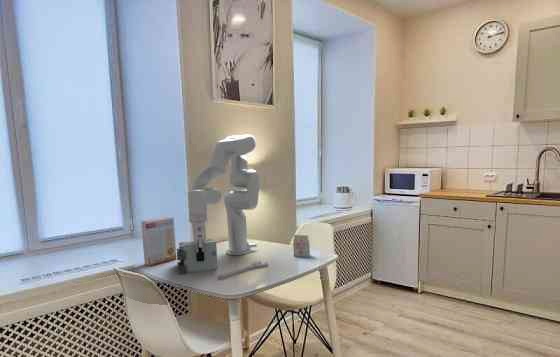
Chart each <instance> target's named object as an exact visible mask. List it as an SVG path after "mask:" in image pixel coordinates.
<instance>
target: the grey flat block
mask: <svg viewBox="0 0 560 357" xmlns="http://www.w3.org/2000/svg"><path fill="white" fill-rule="evenodd" d="M206 242H207V244H206V245H205V244H204V243H203V250H204V261H200V262H197V257H196V252H197V246H196V245H195V243H189V244H183V251H186V260H184V265H187V273H186V274H188V273H194V272H195V273H196V272H202V271H209V270H216V269H217V270H218V267H219V266H218V253H217V252H218V250H217V249H218V248H217V241H216V239H215V240H212V241H206ZM197 245H199V244H197ZM198 247H199V246H198Z"/></svg>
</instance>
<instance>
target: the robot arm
mask: <svg viewBox="0 0 560 357" xmlns="http://www.w3.org/2000/svg"><path fill="white" fill-rule="evenodd" d="M256 145H257V142H256V139H255V136H253V135H251V134H241V135H240V134H239V135H230V136H227V137H226V138H225V139H223V140H219V141H218V142H216V143H215V146H214V149H213V151H212V155H211V157H210V160H209V162H208V163H209V164H208V165H207V167H205V168H204V169H203V170H202V171H201V172H200V173H199V174H198V175H197V177H195V179H194V181H193V183H192V186H191V189H189V190H188V192H187V201H188V202H187V204H188V205H187V206H188V222H189V223H191V224H192V226H191V227H192V237H193V238H192V239H193V241H194V243H195V245H196V246H197V252H196V257H197V262H200V261H204V250H203V243H204V244H205V245H206V244H207V242H206V240H207V231H206V230H207V228H206V222H207V221H208V211H207V210H208V209H207V205H216V204H218V203H220V201H221V200H222V193H221V191H220V190H219V189H218V188H216V187H206V186H207V185H208V184H209V183H210V182H212V181H213V180H215V179H218V178H219V177H222V175H224V174H226V172H227V170H228V166H229V162H230V163H231V164H230V172H229V173H230V174H229V186H230V187H231V188H232V189H236V190H232V191H229V192H227V193H226V194H225V196H224V198H223V201H224V207H225V210H226V218H227V219H226V220H227V237H228V238H227V239H228V249H226V252H225V253H226V254H227V255H230V256H241V255H245V254H246V255H247V254H248V253H250V252H251V251H252V250H251V248H257V243H256V242H255V243H253V242H250V243H249V242H248V233H247V232H248V231H247V217H246V214H245V212H244V210H245V211H252V210H253V211H254V210H255V209H256V208H257V206H258V204H259V195H260V185H261V184H260V183H261V179H260V174H259V173H258V171H256V170H255V169H248V165H249V164H248V159H247V157H246V155H248V154H249V153H251V152H253V151H254V149H255V148H256ZM237 189H239V190H237ZM241 189H242V190H241ZM245 189H246V190H245ZM197 244H199V245H197ZM198 246H199V247H198Z"/></svg>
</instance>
